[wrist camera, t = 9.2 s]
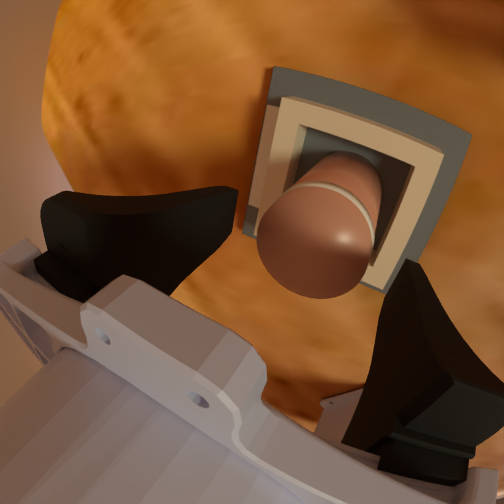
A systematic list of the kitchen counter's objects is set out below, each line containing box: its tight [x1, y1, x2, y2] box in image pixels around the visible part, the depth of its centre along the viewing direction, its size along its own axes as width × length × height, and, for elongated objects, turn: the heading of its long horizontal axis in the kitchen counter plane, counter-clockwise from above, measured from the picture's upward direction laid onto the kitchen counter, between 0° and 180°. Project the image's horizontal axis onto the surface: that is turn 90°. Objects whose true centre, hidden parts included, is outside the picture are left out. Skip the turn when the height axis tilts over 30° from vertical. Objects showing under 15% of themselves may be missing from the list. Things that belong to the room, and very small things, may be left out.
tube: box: [257, 151, 382, 299], centre depth 14 cm, size 4×4×8 cm
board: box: [242, 66, 472, 294], centre depth 17 cm, size 12×12×3 cm
